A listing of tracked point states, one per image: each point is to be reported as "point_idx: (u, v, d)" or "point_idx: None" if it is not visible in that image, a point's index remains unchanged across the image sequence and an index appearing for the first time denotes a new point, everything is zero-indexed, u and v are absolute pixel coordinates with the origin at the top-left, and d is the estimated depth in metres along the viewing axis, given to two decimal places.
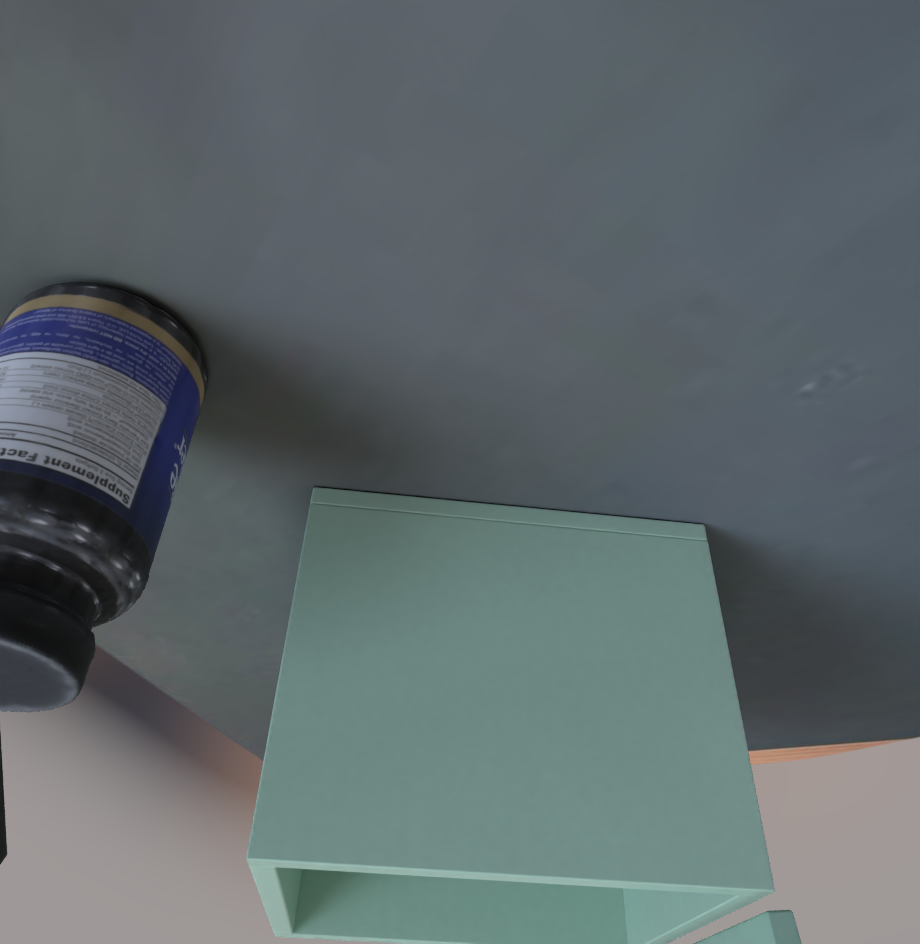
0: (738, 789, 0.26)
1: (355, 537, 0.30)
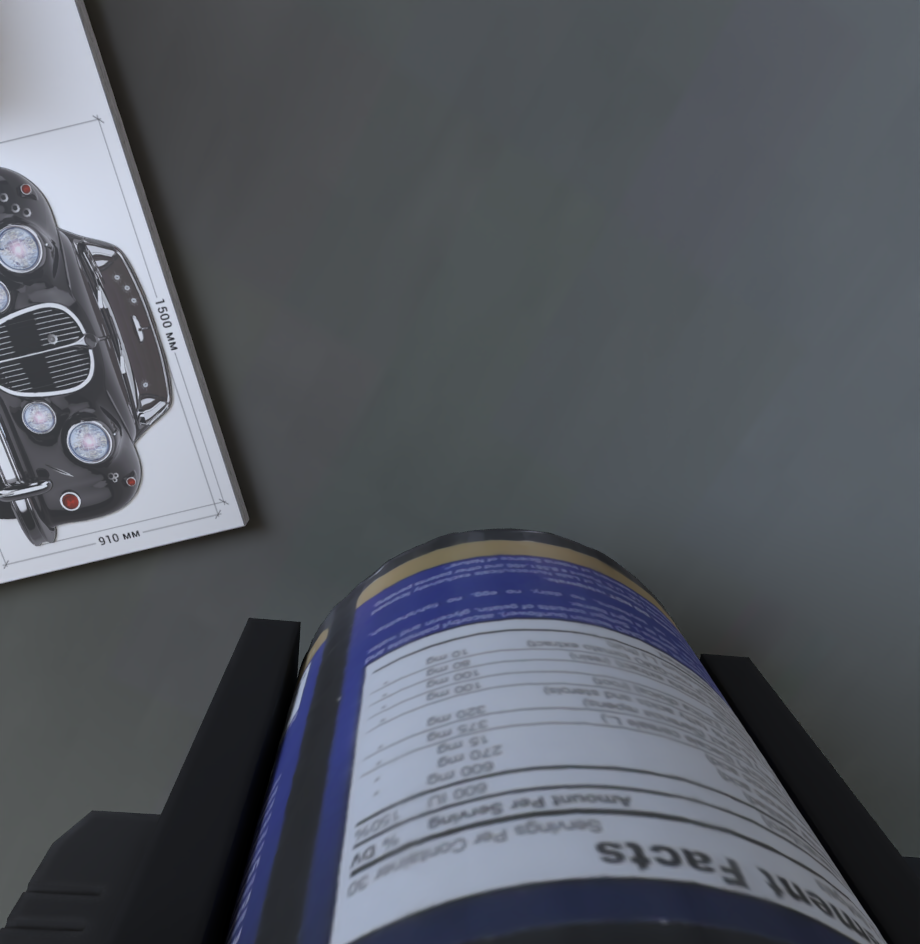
0: None
1: None
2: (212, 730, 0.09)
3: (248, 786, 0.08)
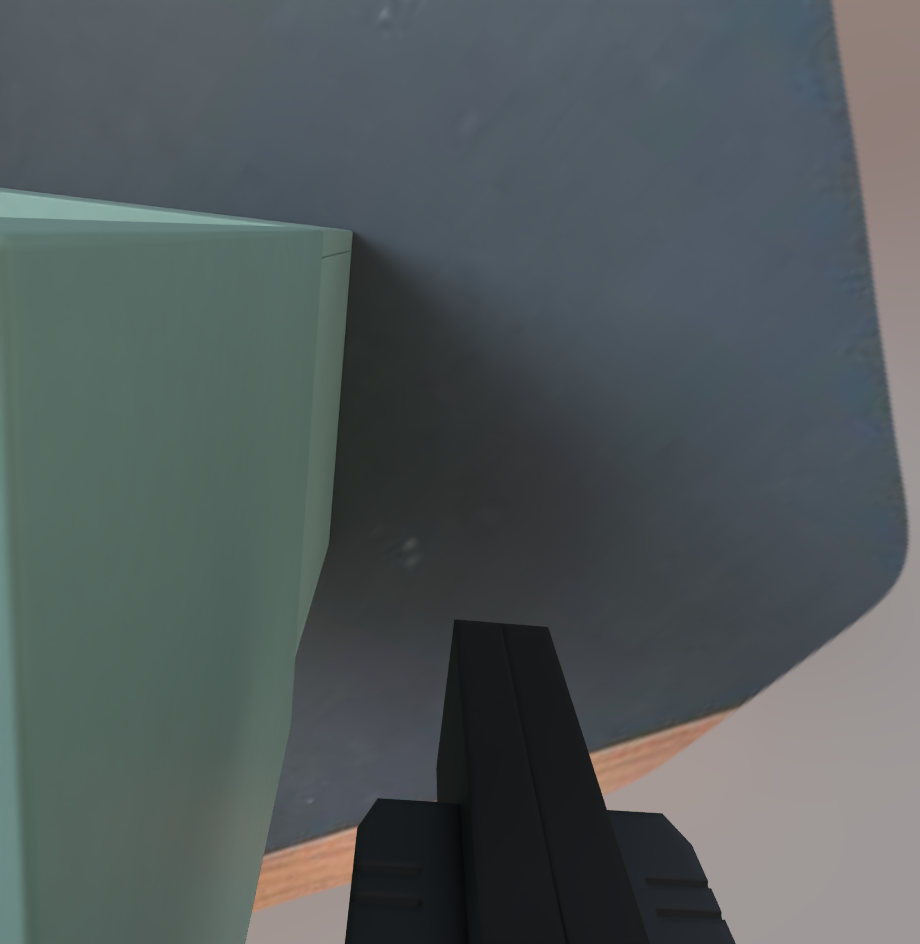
0: (301, 226, 0.22)
1: None
2: (475, 724, 0.10)
3: (533, 775, 0.09)
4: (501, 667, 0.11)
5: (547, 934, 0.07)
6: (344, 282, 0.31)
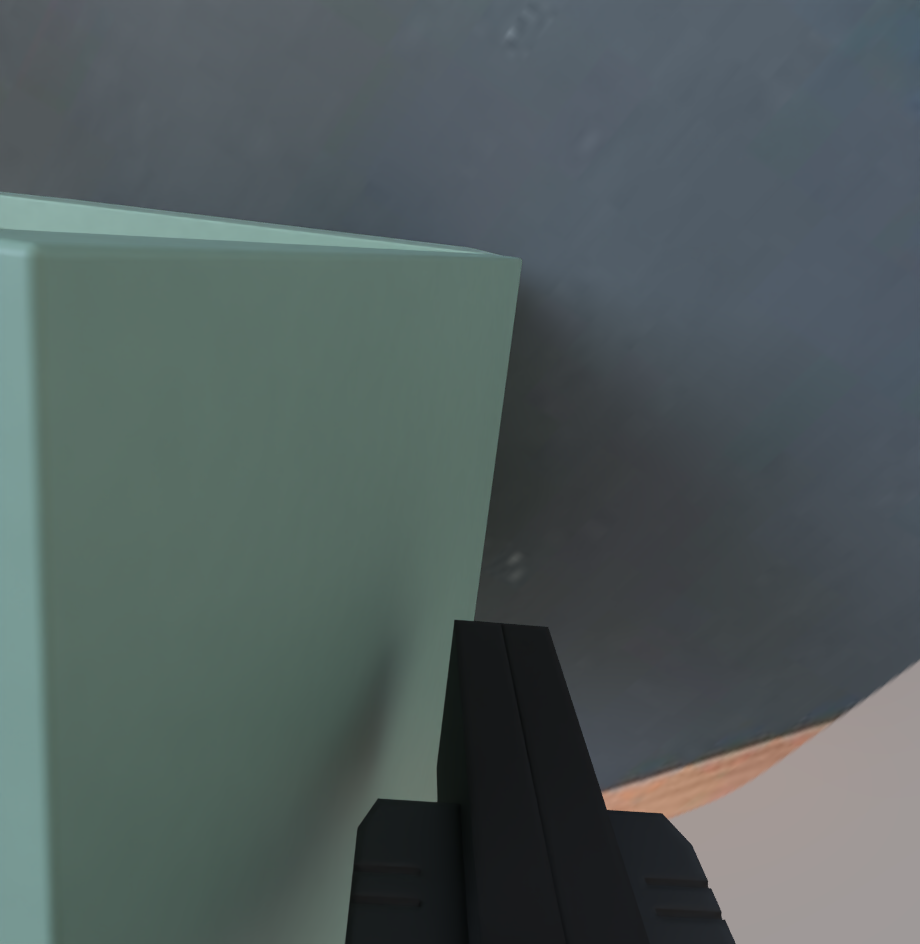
0: (472, 250, 0.22)
1: None
2: (475, 724, 0.10)
3: (533, 775, 0.09)
4: (501, 667, 0.11)
5: (547, 934, 0.07)
6: None
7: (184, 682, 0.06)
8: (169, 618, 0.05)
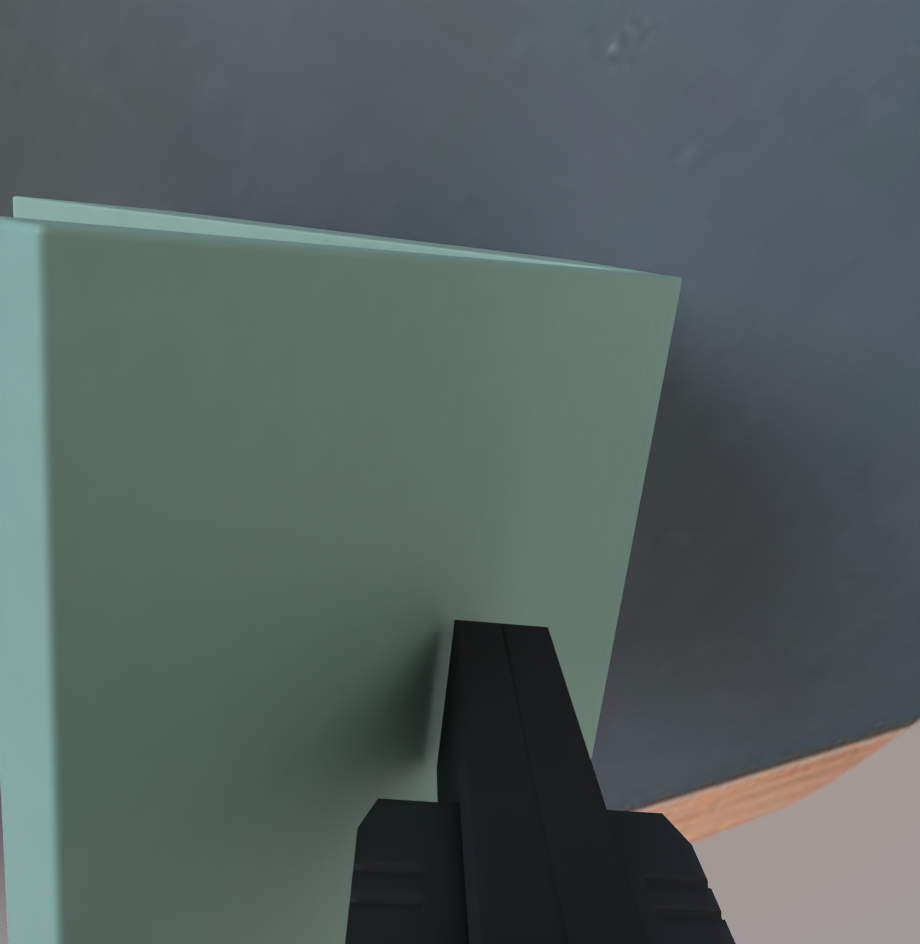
0: None
1: None
2: (475, 724, 0.10)
3: (533, 775, 0.09)
4: (501, 667, 0.11)
5: (548, 934, 0.07)
6: None
7: (188, 572, 0.07)
8: (171, 516, 0.07)
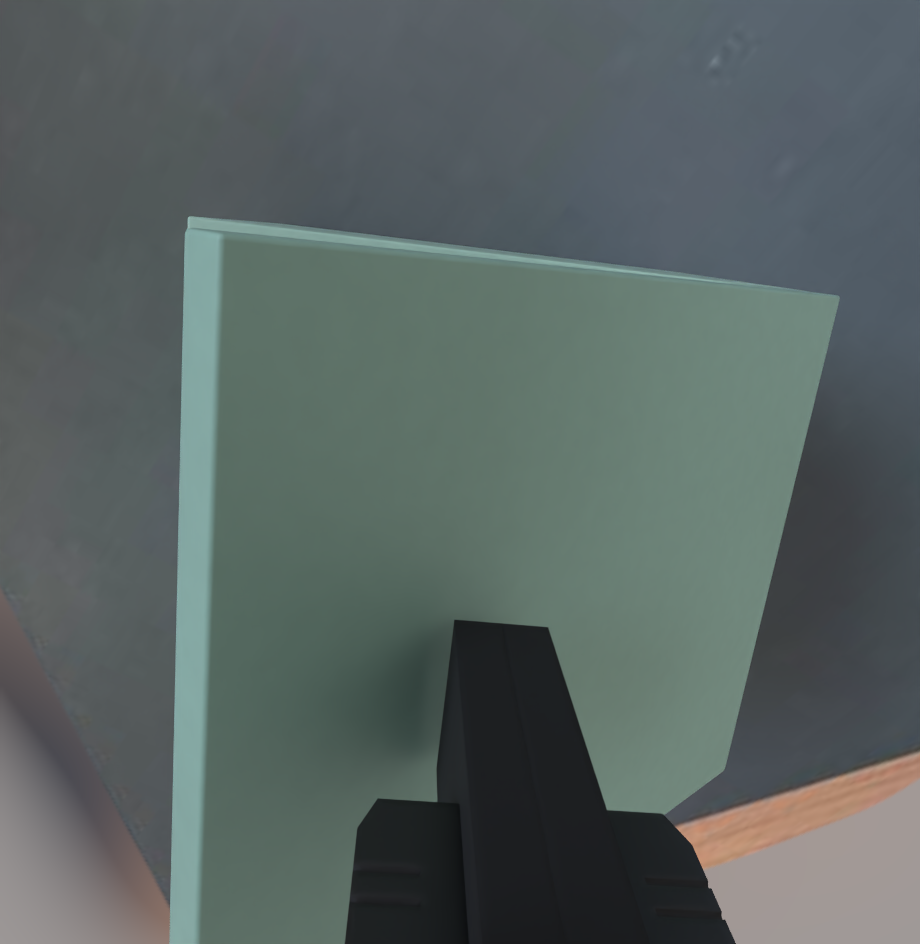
0: None
1: None
2: (475, 724, 0.10)
3: (533, 775, 0.09)
4: (501, 667, 0.11)
5: (547, 934, 0.07)
6: None
7: (312, 492, 0.10)
8: (300, 447, 0.10)
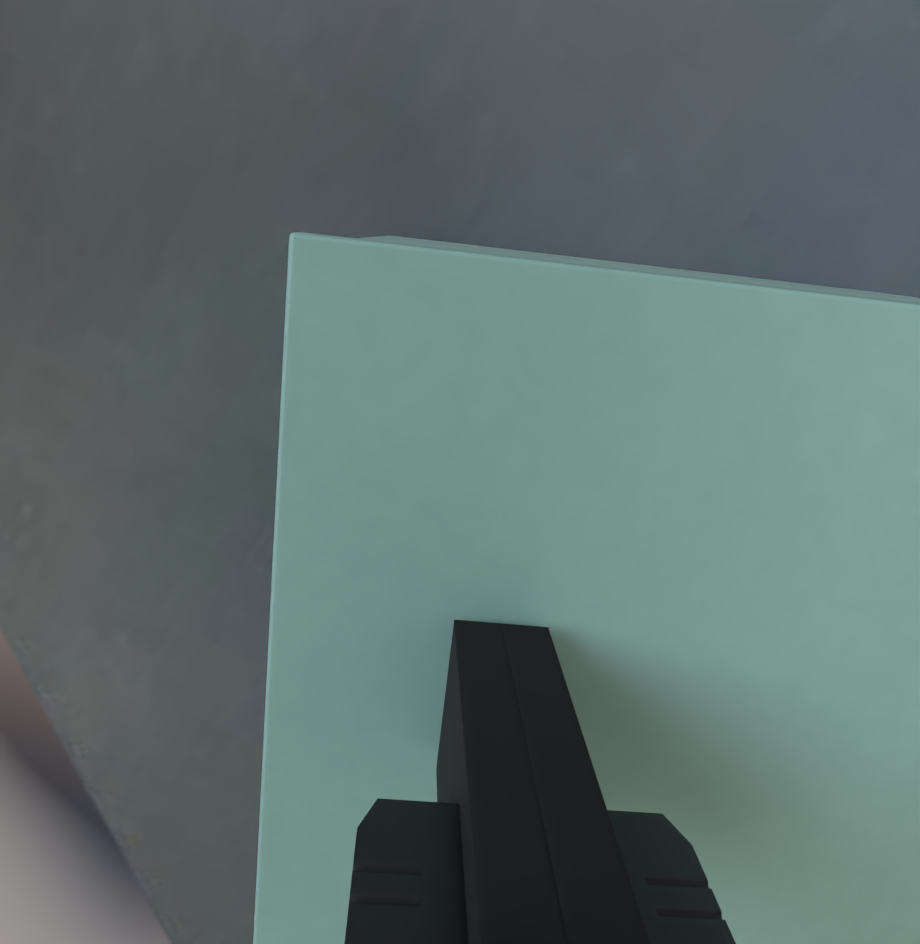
0: None
1: None
2: (475, 724, 0.10)
3: (532, 775, 0.09)
4: (501, 667, 0.11)
5: (547, 934, 0.07)
6: None
7: (372, 454, 0.12)
8: (361, 413, 0.12)
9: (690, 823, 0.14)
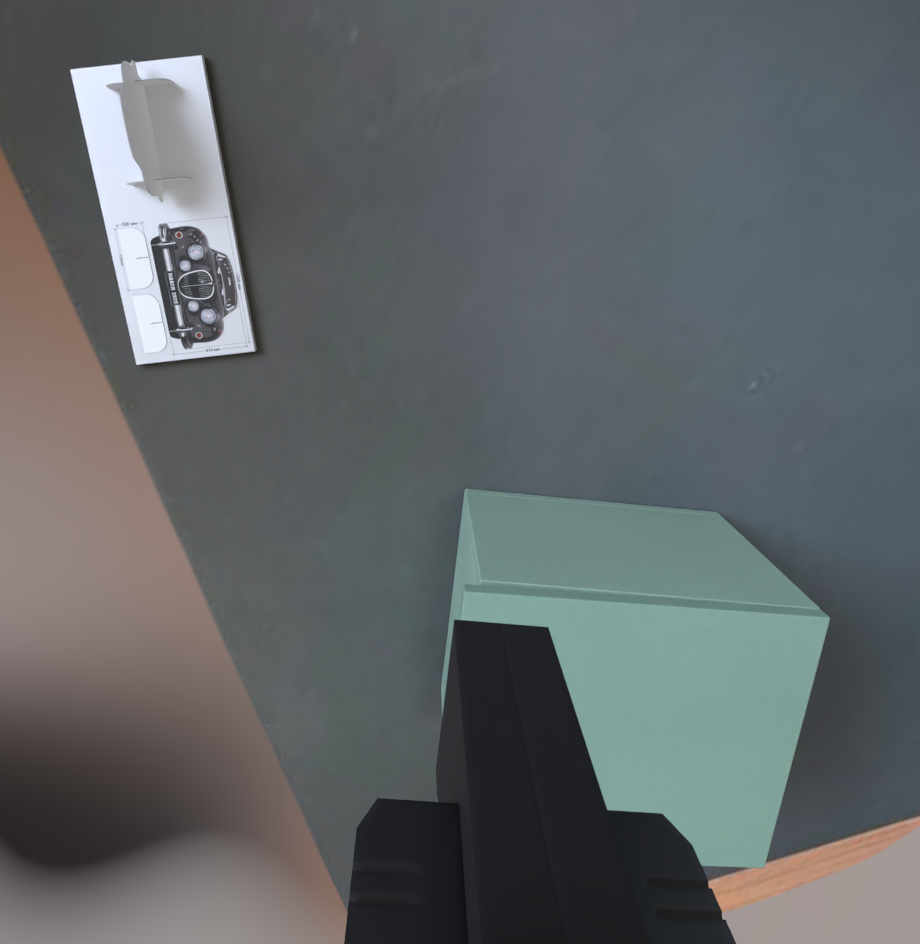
0: (780, 581, 0.39)
1: (498, 502, 0.46)
2: (475, 724, 0.10)
3: (533, 775, 0.09)
4: (501, 667, 0.11)
5: (547, 934, 0.07)
6: None
7: None
8: None
9: (602, 785, 0.37)
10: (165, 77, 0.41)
